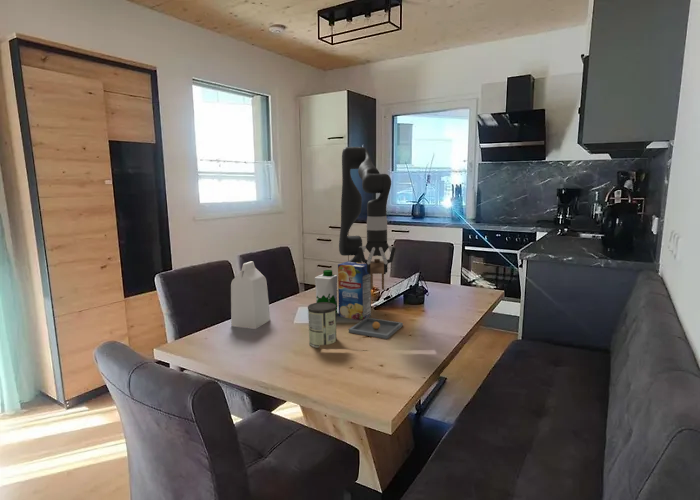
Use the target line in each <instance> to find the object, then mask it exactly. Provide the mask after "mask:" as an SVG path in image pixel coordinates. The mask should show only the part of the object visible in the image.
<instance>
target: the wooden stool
mask: <svg viewBox="0 0 700 500" xmlns="http://www.w3.org/2000/svg"><path fill="white" fill-rule="evenodd" d="M374 274H375V275H378V274H379V275H380V274H381V290H385V274H384V261H383V260H381V259H380V258H375V259H374V260H371V262H370V281H371V291H372V290H373V289H374V284H373V283H374V282H373V281H374Z"/></svg>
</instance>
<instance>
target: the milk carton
mask: <svg viewBox="0 0 700 500" xmlns="http://www.w3.org/2000/svg"><path fill="white" fill-rule="evenodd" d="M314 285H315V303H319V302H328V303H333V304H335V305H336V314H338V274H333V269H325V270H323V273H322V274H319V275H317V276H315V277H314Z"/></svg>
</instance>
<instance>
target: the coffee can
mask: <svg viewBox="0 0 700 500" xmlns="http://www.w3.org/2000/svg"><path fill="white" fill-rule="evenodd" d="M307 312H308V313H307V315H308V316H307V317H308V344H309V346H311V347H313V348H317V349H318V348H320V346H328V345H331V344H334V343H335V342H337V313H336V305H335V304H333V303H328V302H319V303H316V302H314V303H311V304H309V305H308V306H307Z"/></svg>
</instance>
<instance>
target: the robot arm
mask: <svg viewBox="0 0 700 500" xmlns="http://www.w3.org/2000/svg"><path fill="white" fill-rule="evenodd" d="M351 170H358V171H357V172H358V176H359V178H360V179H361V180H362V182H361V183H362V185H361V187H362V190H363V191H364V192H365V193H367V194H379V196H378V197H377V198H375V199H371V200H369V201H368V202H367V205H366V208H367V209H366V210H367V211H366V212H367V213H366V214H367V217H366V244H365V245H364V246H363V239H362V237H361V236H360V235H349V233H350V232H349V231H350V230H351V228H352V226H353V224H354V223H355V222H356V221H357V219H358V218H359V216H360V214H361V213H362V206H363V197H362V194H361V193H360V190H359V189H358V187H357V186H356V184H355V183H354V181H353V178H352V176H351ZM341 175H342V177H341V178H342V182H341V183H342V185H341V186H342V187H341V197H340V199H341V203H340V228H339V229H340V230H339V231H340V232H339V241H338V251H339V254H340V255H341V256H353V258H351V259H350V260H348V261H346V262H356V263H366V264H367V273H369V274H370V262H371V261H372V259H373V257H381V258H382V261H384V275H386V273H388V264H390V263H391V264H392V263H393V261H394V257H395V253H396V247H395V246H394V245H393V246H392V245H389V244H388V220H387V204H388V199H389V195H390V191H391V188H392V179H391V177H390V175H389V174H387V173H380V171H379V170H378V169H377V167H376V166H375V165H374V163H373V160H372V157H371V155H370V153H369V151H368V149H367V148H366V147H365V146H364V147H363V146H345V147H344V148H342V154H341ZM388 249H389V250H388ZM366 250H367V252H368V253H369V255H368V258H367V259H366V257H365V251H366ZM387 250H388V251H389V252H390V255H389V258H388V259H387V257H386V252H387Z"/></svg>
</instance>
